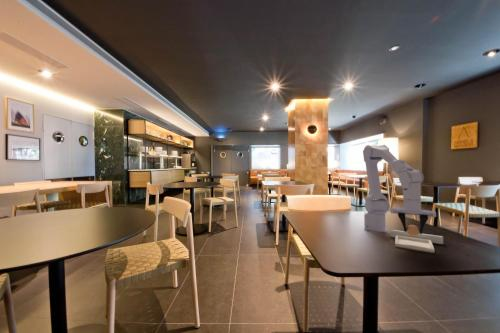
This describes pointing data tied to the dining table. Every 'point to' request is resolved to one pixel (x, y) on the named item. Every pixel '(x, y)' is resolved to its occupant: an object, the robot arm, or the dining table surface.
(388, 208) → the robot arm
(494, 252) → the dining table surface
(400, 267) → the dining table surface
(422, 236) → the low wall
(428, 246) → the tray
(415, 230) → the ball
